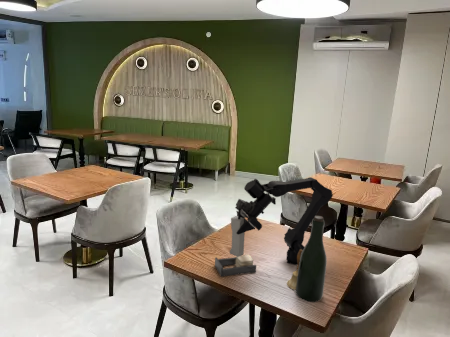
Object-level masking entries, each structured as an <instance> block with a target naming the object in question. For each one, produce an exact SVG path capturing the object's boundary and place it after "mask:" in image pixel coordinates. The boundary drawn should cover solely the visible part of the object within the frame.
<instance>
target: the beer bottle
mask: <svg viewBox="0 0 450 337" xmlns="http://www.w3.org/2000/svg"><path fill="white" fill-rule="evenodd" d="M324 227H325V220H324V217H323V216H322V215H316V216H315V217H314V219H313V220H312V222H311V230H310V235H309V238H308V240H307V242H306V244H305V245H304V249H303V251H302V253H301V256H300V261H299V268H298V274H297V281H296V290H294V291H295V294H296V296H297V297H298V298H299V299H301V300H303V301H305V302H308V303H315V302H319V301H320V300H322V299H323V296H324V289H325V282H326V273H327V272H326V271H327V264H328V262H327V254H326V250H325V245H324Z"/></svg>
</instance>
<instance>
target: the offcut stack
mask: <svg viewBox="0 0 450 337" xmlns="http://www.w3.org/2000/svg"><path fill="white" fill-rule="evenodd" d="M235 257H236V264H235V266H234V267H241V266H249V265H254V259H253V258H252V257H251V256H250V254H243V255H241V256H239V257H237V256H235Z"/></svg>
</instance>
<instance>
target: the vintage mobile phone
mask: <svg viewBox="0 0 450 337" xmlns="http://www.w3.org/2000/svg"><path fill="white" fill-rule="evenodd" d="M239 202H240V200H239ZM237 211H238V210H237ZM243 223H244V218H241V217H240V209H239V211H238V216H237V215H234V216H233V217H231V218H230V228H231V248H230V250H229V254H231V255H232V256H235V257H236V256H237V257H239V256H242V255H245V254H244V253H245V251H244V250H245V234H246V232H244V233H241V234H239V235H238V234H237V231H238V230H239V228H240V227H241V226H242V225H243Z"/></svg>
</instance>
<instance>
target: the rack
mask: <svg viewBox="0 0 450 337" xmlns="http://www.w3.org/2000/svg"><path fill="white" fill-rule="evenodd" d="M233 265H236V256H235V257H227V258H226V257H225V258H218V257H217V256H216V257H214V267H215V269H216V271H217V272H218V274H219V276H220V277H228V276H236V275H243V274H250V273H251V274H252V273H256V272H257V265H256V264H253V265H249V266H241V267H236V266H234V267H225V266H233ZM224 267H225V268H224Z"/></svg>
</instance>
